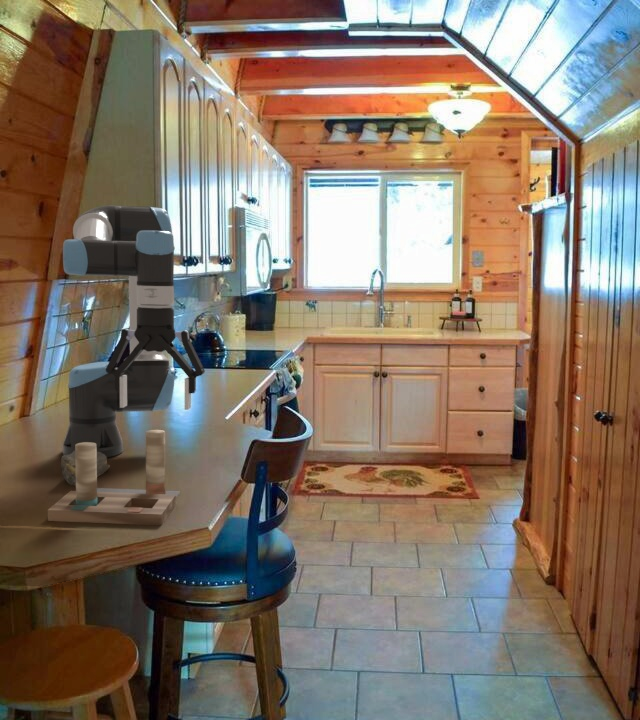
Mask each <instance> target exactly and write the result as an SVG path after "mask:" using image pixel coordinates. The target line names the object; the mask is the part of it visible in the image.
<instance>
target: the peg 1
mask: <svg viewBox="0 0 640 720" xmlns="http://www.w3.org/2000/svg"><path fill="white" fill-rule="evenodd" d="M75 459H76V486H75V491H76V505H86V506H97V488H98V477H97V445H96V443H92V442H83V443H78V444H76V445H75Z"/></svg>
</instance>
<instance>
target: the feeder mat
mask: <svg viewBox="0 0 640 720" xmlns="http://www.w3.org/2000/svg"><path fill="white" fill-rule="evenodd" d="M97 492H115V493H141V494H146V489H137V488H133V489H131V488H111V487H110V488H108V487H107V488H106V487H105V488H104V487H97ZM181 492H182V491H181V490H165V494H168V495H176V498H177V497H178V496H179V495H180V493H181Z"/></svg>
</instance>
